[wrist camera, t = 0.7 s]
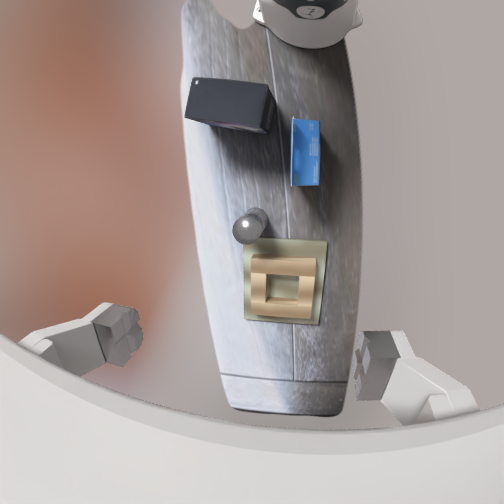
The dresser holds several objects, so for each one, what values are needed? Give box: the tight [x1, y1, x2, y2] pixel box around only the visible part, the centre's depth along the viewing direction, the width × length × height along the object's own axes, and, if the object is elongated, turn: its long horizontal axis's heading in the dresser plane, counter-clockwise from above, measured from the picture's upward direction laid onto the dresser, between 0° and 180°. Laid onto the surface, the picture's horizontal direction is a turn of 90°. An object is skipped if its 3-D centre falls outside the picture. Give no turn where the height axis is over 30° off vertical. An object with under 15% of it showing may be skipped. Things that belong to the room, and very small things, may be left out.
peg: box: [233, 208, 268, 245], centre depth 43 cm, size 4×4×8 cm
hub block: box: [243, 237, 327, 325], centre depth 47 cm, size 16×14×3 cm
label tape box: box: [291, 116, 320, 187], centre depth 36 cm, size 9×4×12 cm, turn 0°
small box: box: [184, 77, 276, 134], centre depth 36 cm, size 11×6×10 cm, turn 79°
